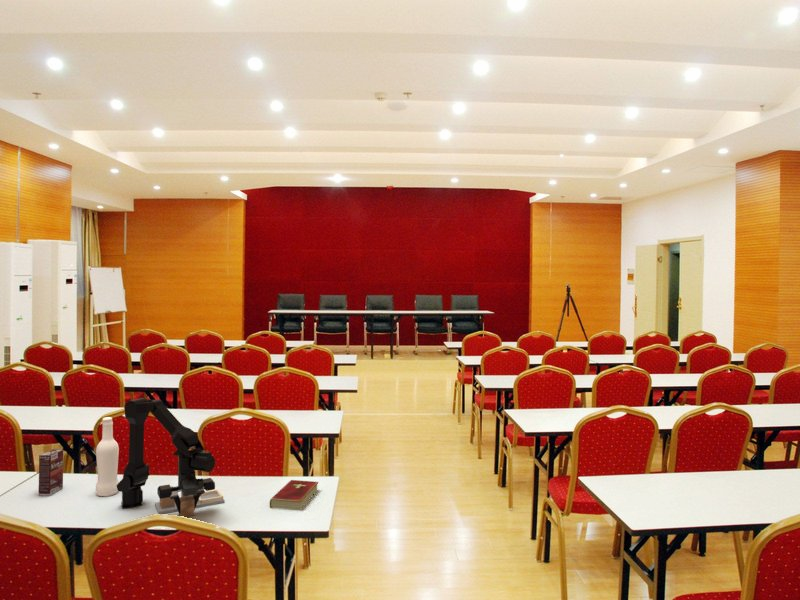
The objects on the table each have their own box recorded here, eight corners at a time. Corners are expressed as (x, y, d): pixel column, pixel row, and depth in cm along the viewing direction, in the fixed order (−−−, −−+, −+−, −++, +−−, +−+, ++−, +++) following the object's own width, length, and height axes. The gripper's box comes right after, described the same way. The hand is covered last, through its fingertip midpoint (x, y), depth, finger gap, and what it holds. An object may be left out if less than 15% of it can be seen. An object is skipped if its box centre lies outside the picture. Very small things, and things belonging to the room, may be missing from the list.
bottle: (123, 490, 223) (123, 415, 222) (110, 497, 215) (111, 420, 214) (104, 489, 224) (104, 414, 223) (91, 496, 216) (91, 419, 215)
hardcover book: (269, 509, 207) (269, 498, 207) (290, 489, 227) (290, 479, 227) (300, 511, 205) (300, 500, 205) (318, 491, 225) (318, 481, 225)
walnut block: (180, 518, 196) (181, 501, 196) (178, 514, 200) (178, 497, 200) (194, 516, 199) (194, 499, 198) (191, 511, 202) (191, 495, 202)
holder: (158, 514, 199) (158, 495, 199) (155, 505, 208) (155, 486, 208) (224, 502, 211) (224, 484, 211) (218, 494, 220) (218, 476, 220)
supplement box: (50, 496, 215) (50, 455, 215) (37, 496, 215) (37, 455, 215) (64, 488, 224) (64, 449, 224) (52, 488, 224) (52, 449, 224)
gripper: (162, 479, 187) (161, 525, 188) (218, 470, 197) (218, 514, 197) (157, 469, 197) (157, 513, 197) (211, 462, 206) (211, 503, 207)
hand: (186, 511), depth 199 cm, fingers closed on walnut block, 4 cm apart
